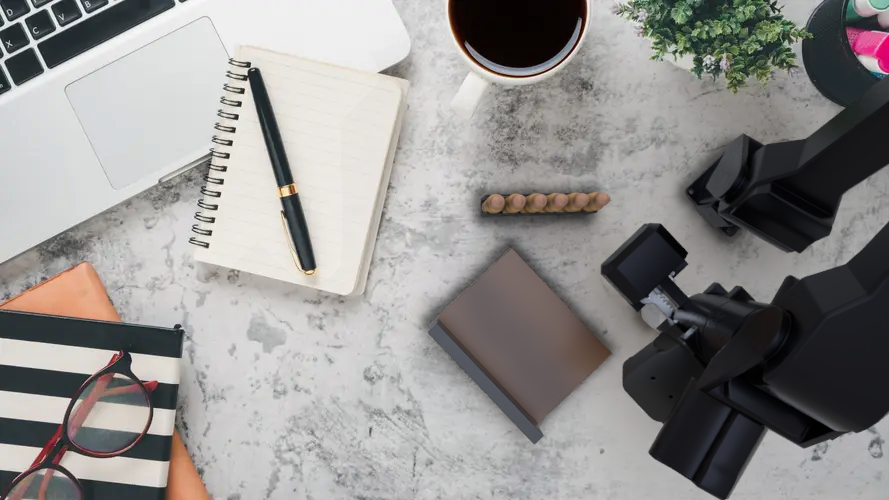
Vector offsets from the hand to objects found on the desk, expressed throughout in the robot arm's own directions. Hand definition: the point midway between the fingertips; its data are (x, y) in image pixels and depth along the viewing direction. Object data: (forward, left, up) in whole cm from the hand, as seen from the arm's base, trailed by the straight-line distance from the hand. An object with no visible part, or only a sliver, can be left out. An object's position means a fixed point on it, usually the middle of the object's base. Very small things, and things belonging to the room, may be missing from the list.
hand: (669, 314), depth 63 cm
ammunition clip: (+2, -16, -3) cm, 17 cm away
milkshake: (0, 0, -3) cm, 3 cm away
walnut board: (+12, -8, -2) cm, 15 cm away
